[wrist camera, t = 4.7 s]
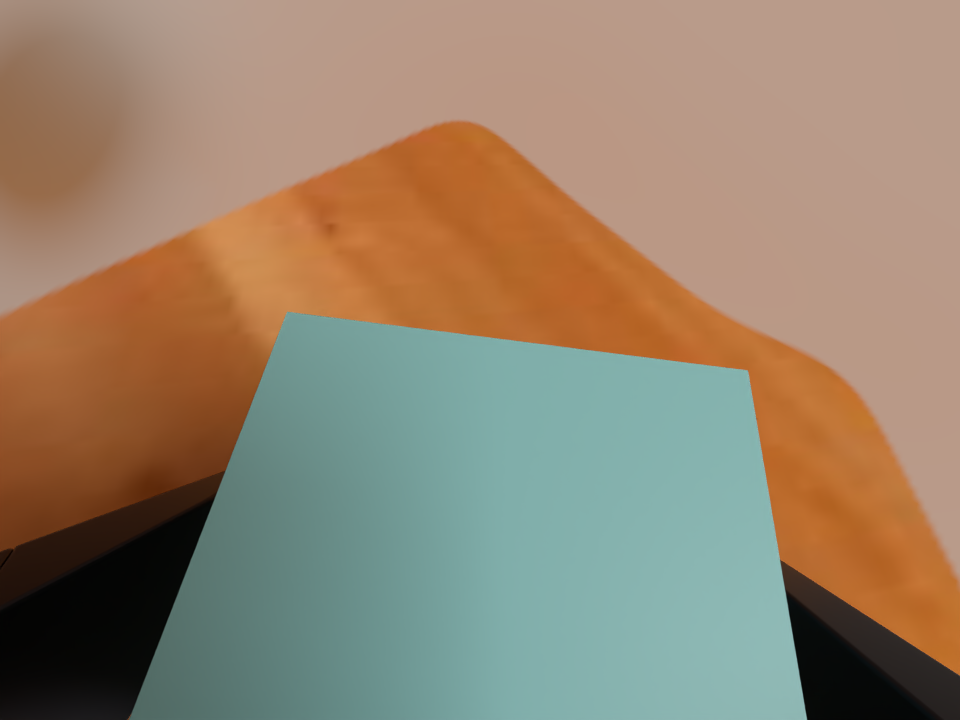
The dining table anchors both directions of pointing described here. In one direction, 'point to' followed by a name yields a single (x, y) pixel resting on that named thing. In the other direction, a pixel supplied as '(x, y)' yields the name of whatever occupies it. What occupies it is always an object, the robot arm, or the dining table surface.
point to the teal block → (482, 541)
